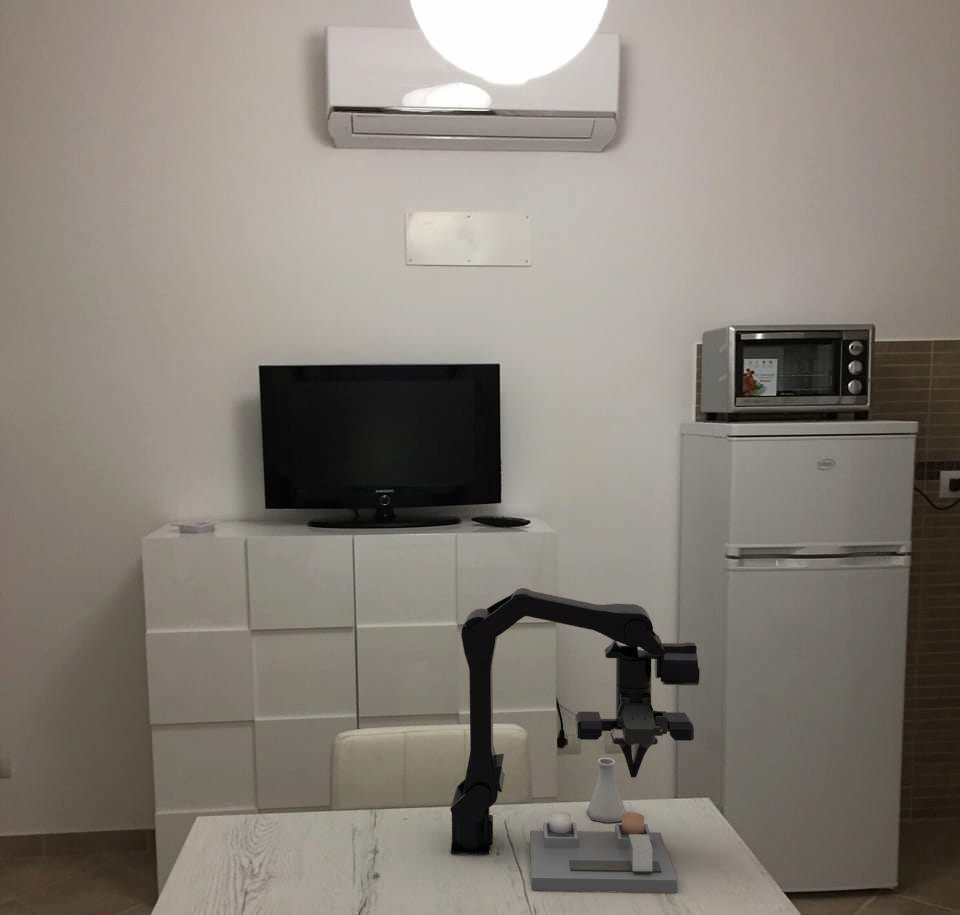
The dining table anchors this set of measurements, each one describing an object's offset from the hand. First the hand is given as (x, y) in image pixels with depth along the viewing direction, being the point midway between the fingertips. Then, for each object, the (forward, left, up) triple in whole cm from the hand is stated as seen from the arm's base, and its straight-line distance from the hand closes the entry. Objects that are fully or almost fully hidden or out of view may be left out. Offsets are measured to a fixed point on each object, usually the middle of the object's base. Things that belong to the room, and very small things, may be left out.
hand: (633, 776), depth 144 cm
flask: (-3, +13, -13) cm, 19 cm away
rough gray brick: (0, -8, -10) cm, 13 cm away
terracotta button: (0, 0, -9) cm, 9 cm away
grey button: (-12, 0, -9) cm, 15 cm away
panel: (-6, -5, -13) cm, 15 cm away
